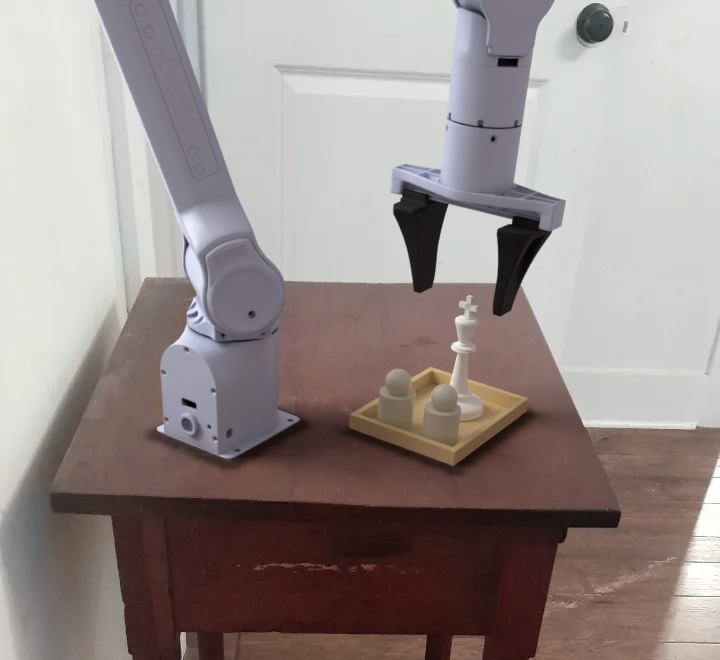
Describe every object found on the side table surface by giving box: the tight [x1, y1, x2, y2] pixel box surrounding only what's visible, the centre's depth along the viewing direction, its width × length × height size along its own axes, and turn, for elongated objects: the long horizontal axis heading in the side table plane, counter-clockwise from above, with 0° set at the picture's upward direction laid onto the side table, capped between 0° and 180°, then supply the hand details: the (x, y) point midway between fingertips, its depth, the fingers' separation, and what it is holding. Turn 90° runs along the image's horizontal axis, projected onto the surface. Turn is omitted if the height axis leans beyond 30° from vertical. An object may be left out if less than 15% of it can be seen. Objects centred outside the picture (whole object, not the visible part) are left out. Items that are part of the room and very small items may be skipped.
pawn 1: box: [377, 368, 415, 432], centre depth 82 cm, size 3×3×5 cm
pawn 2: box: [421, 384, 461, 447], centre depth 80 cm, size 3×3×5 cm
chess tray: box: [348, 366, 530, 466], centre depth 85 cm, size 13×10×2 cm
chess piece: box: [430, 294, 484, 421], centre depth 84 cm, size 5×5×10 cm
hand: (461, 300), depth 82 cm, fingers open, 7 cm apart
